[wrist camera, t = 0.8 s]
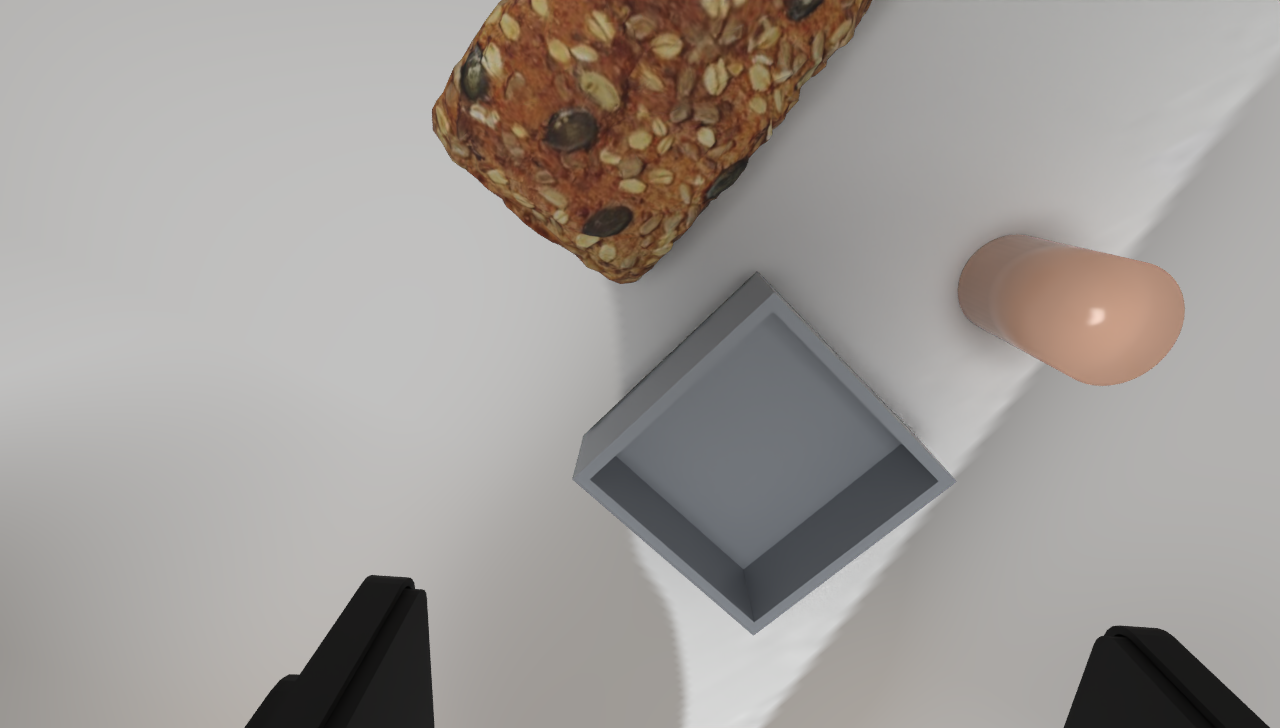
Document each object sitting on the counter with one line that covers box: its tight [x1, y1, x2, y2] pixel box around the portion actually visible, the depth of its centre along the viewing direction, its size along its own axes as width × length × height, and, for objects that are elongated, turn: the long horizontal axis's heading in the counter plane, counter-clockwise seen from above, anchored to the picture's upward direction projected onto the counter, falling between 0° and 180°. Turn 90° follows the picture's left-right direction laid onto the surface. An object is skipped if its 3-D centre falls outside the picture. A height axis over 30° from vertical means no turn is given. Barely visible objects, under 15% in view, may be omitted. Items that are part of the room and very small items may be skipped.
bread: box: [432, 0, 872, 284], centre depth 24 cm, size 19×11×10 cm, turn 141°
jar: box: [958, 234, 1185, 386], centre depth 28 cm, size 5×5×8 cm
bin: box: [573, 272, 956, 636], centre depth 33 cm, size 13×13×5 cm
